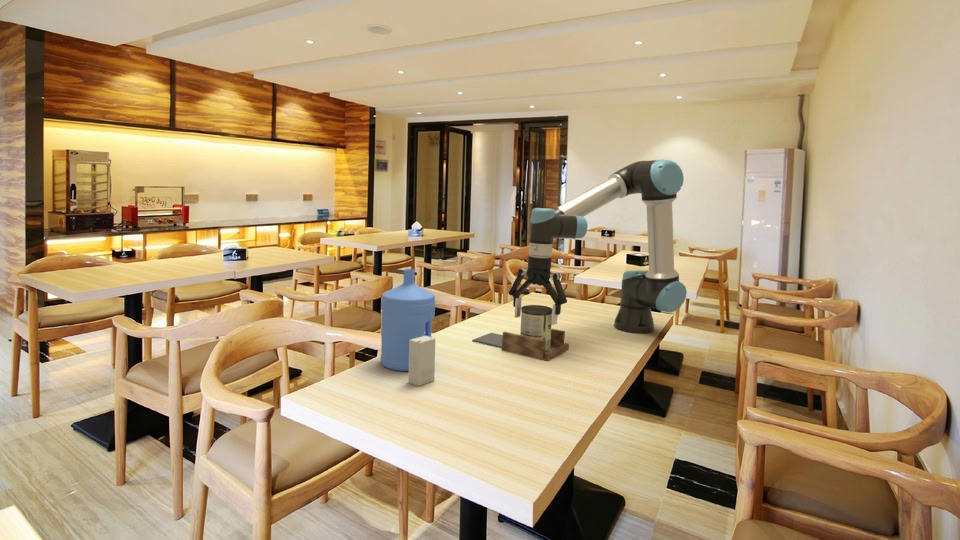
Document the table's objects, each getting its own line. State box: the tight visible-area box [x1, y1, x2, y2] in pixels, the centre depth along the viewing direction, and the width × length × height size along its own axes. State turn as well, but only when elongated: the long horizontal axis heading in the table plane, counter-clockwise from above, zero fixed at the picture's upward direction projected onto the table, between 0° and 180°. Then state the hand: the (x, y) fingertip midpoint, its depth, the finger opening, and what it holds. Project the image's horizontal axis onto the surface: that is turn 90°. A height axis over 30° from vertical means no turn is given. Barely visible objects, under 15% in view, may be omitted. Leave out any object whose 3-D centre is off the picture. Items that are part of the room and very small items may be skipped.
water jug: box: [380, 268, 436, 372], centre depth 153 cm, size 16×16×28 cm
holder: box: [501, 328, 570, 362], centre depth 172 cm, size 17×15×6 cm
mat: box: [472, 332, 503, 349], centre depth 181 cm, size 12×12×1 cm
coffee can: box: [519, 304, 553, 354], centre depth 172 cm, size 10×10×14 cm
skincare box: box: [407, 336, 436, 387], centre depth 140 cm, size 6×4×12 cm
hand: (535, 320), depth 171 cm, fingers open, 13 cm apart
